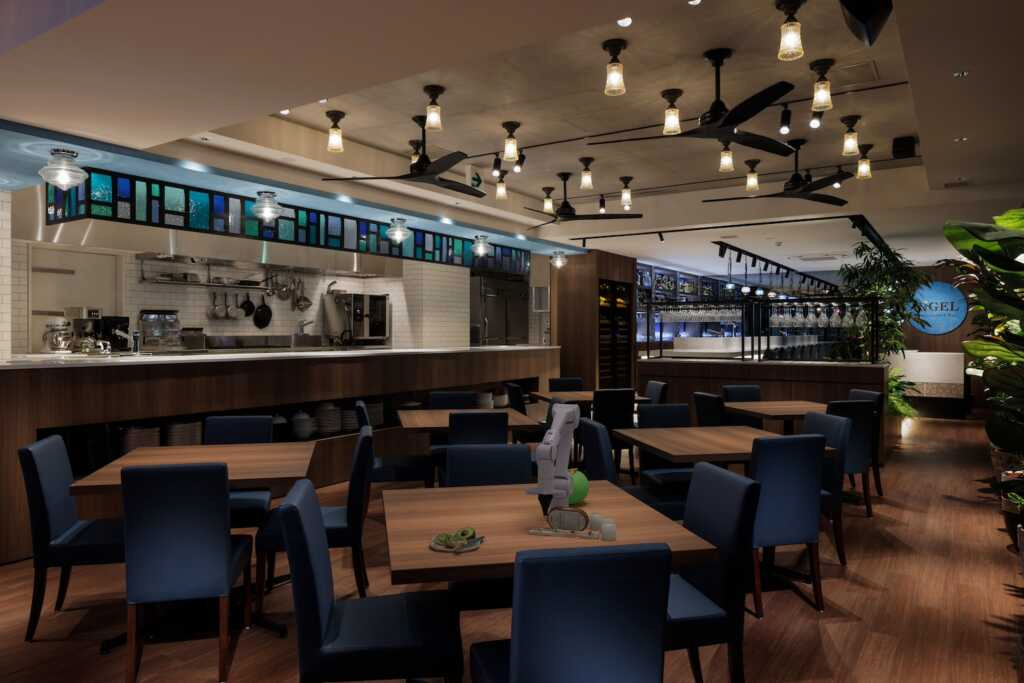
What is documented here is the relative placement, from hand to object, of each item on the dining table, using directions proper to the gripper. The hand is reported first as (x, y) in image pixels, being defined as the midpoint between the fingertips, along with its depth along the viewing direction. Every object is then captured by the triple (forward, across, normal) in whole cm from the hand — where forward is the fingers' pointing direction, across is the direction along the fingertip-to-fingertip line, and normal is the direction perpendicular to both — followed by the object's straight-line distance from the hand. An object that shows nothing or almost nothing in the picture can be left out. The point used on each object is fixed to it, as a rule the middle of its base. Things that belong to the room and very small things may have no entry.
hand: (545, 515), depth 248 cm
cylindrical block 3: (+5, +23, -6) cm, 24 cm away
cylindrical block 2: (+5, +22, +1) cm, 23 cm away
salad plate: (+6, -25, -26) cm, 36 cm away
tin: (+5, +8, 0) cm, 10 cm away
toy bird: (+5, +2, +42) cm, 42 cm away
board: (+5, +8, -6) cm, 11 cm away
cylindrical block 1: (+5, +18, +6) cm, 19 cm away
